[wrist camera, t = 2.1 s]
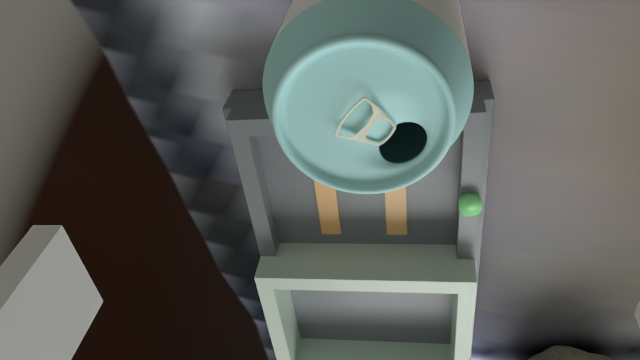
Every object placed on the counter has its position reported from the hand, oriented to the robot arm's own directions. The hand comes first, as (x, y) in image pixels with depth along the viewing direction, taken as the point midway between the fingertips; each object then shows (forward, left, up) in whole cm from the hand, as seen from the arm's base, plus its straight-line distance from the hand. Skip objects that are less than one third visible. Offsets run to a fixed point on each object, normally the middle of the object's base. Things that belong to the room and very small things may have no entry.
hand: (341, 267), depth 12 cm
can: (0, 0, -18) cm, 18 cm away
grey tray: (+16, -1, -18) cm, 24 cm away
